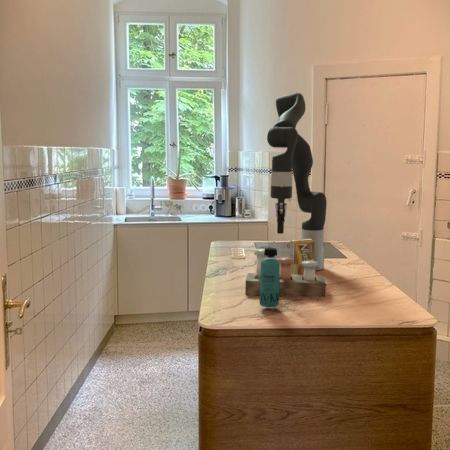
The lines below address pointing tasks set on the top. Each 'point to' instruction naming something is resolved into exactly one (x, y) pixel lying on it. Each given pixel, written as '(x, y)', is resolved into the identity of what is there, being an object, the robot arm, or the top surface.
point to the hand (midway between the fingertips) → (280, 233)
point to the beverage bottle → (269, 279)
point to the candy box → (301, 254)
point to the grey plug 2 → (309, 269)
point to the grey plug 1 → (259, 260)
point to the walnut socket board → (291, 286)
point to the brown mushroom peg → (285, 267)
